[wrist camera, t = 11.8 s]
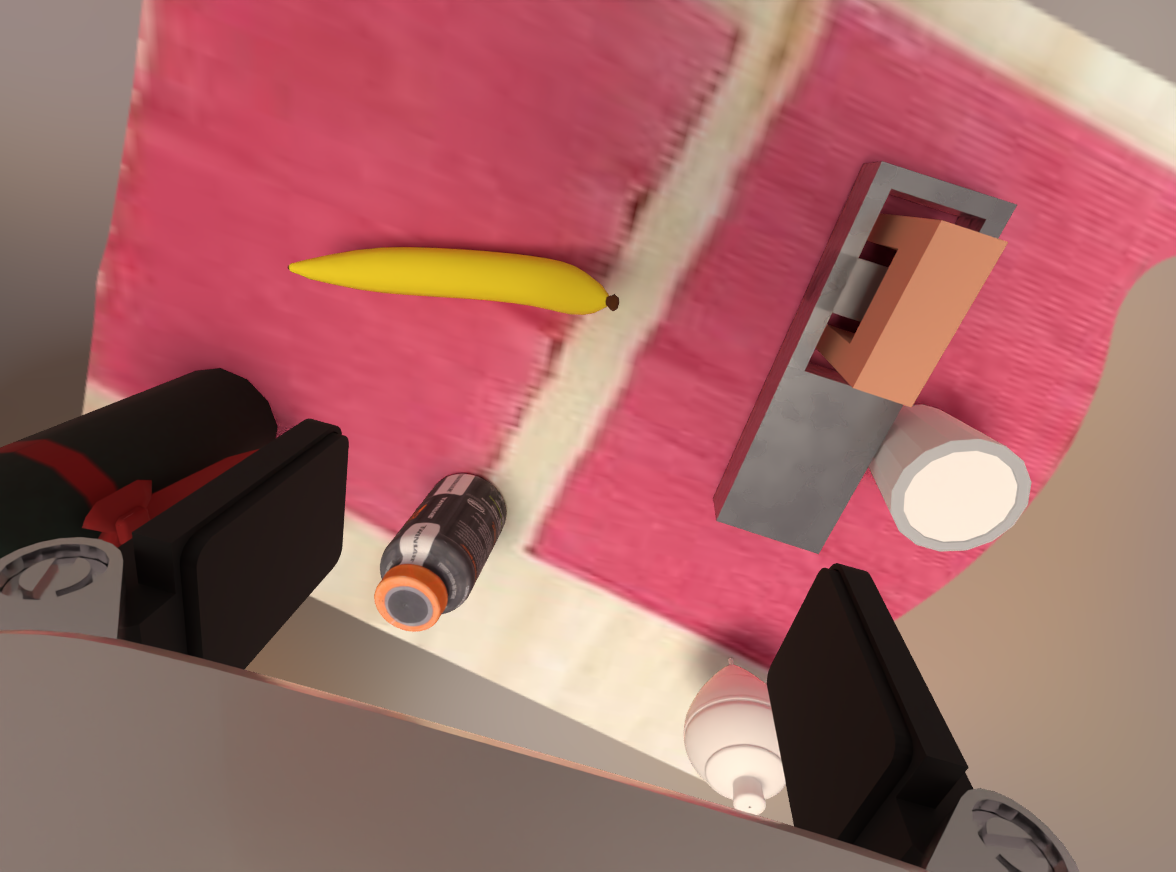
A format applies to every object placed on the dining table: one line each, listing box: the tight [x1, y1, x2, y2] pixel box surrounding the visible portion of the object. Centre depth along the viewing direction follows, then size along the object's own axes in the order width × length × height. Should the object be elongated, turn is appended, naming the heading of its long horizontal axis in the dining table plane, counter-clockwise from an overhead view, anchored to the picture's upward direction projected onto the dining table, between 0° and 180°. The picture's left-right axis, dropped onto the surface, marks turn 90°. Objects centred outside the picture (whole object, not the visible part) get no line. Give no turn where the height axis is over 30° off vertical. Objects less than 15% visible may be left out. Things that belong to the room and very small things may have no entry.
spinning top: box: [684, 658, 786, 815], centre depth 40 cm, size 8×8×12 cm
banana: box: [288, 247, 619, 315], centre depth 33 cm, size 3×19×6 cm, turn 86°
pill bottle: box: [374, 474, 506, 632], centre depth 38 cm, size 6×6×11 cm
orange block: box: [816, 213, 1008, 407], centre depth 30 cm, size 8×3×8 cm, turn 163°
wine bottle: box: [0, 368, 277, 559], centre depth 29 cm, size 8×10×30 cm
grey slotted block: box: [713, 161, 1017, 554], centre depth 34 cm, size 22×7×3 cm, turn 163°
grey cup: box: [868, 404, 1031, 551], centre depth 34 cm, size 7×7×7 cm
